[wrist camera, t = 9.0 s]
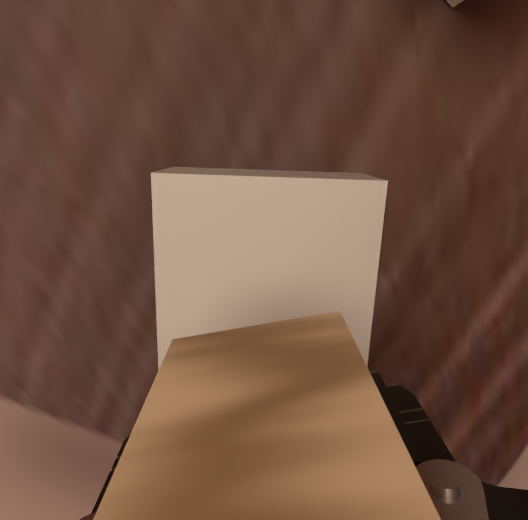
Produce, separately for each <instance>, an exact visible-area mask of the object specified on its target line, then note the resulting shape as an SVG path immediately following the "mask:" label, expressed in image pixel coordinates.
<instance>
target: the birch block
mask: <svg viewBox="0 0 528 520" xmlns="http://www.w3.org/2000/svg"><path fill="white" fill-rule="evenodd" d="M93 520H441V519H440V517H439V514H438V512H437V510H436V508H435V506H434V504H433V502H432V500H431V498H430V496H429V494H428V492H427V490H426V488H425V486H424V483H423V481H422V479H421V477H420V475H419V473H418V471H417V469H416V467H415V465H414V463H413V461H412V459H411V457H410V454H409V452H408V450H407V448H406V446H405V444H404V442H403V440H402V438H401V436H400V434H399V432H398V430H397V428H396V426H395V423H394V421H393V419H392V417H391V415H390V413H389V411H388V409H387V407H386V405H385V403H384V401H383V399H382V397H381V395H380V392H379V390H378V388H377V386H376V384H375V382H374V380H373V378H372V376H371V374H370V372H369V370H368V368H367V366H366V364H365V361H364V359H363V357H362V355H361V353H360V351H359V349H358V347H357V345H356V343H355V341H354V339H353V337H352V335H351V333H350V330H349V328H348V326H347V324H346V322H345V320H344V318H343V316H342V314H341V312H340V311H337V312H331V313H325V314H319V315H313V316H307V317H301V318H295V319H289V320H284V321H278V322H272V323H266V324H260V325H254V326H248V327H242V328H236V329H230V330H224V331H218V332H213V333H207V334H201V335H195V336H189V337H183V338H177V339H172V341H171V344H170V346H169V348H168V350H167V353H166V355H165V357H164V360H163V362H162V364H161V366H160V369H159V371H158V373H157V376H156V378H155V380H154V382H153V385H152V387H151V389H150V391H149V394H148V396H147V398H146V401H145V403H144V405H143V407H142V410H141V412H140V414H139V416H138V419H137V421H136V423H135V426H134V428H133V430H132V432H131V435H130V437H129V439H128V442H127V444H126V446H125V448H124V451H123V453H122V455H121V457H120V460H119V462H118V464H117V467H116V469H115V471H114V473H113V476H112V478H111V480H110V482H109V485H108V487H107V489H106V492H105V494H104V496H103V498H102V501H101V503H100V505H99V508H98V510H97V512H96V514H95V517H94V519H93Z"/></svg>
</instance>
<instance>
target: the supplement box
mask: <svg viewBox="0 0 528 520" xmlns="http://www.w3.org/2000/svg"><path fill="white" fill-rule="evenodd" d="M446 1H447V2H448V3H449V4H450V6H451V7H455V6H456V5H458V4H459V3H461V2H462V1H464V0H446Z"/></svg>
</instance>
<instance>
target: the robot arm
mask: <svg viewBox="0 0 528 520" xmlns="http://www.w3.org/2000/svg"><path fill="white" fill-rule="evenodd" d="M370 374H371V376H372V378H373V380H374V382H375V384H376V386H377V388H378V390H379V392H380V395H381V397H382V399H383V401H384V403H385V405H386V407H387V409H388V411H389V413H390V415H391V417H392V419H393V421H394V423H395V426H396V428H397V430H398V432H399V434H400V436H401V438H402V440H403V442H404V444H405V446H406V448H407V450H408V452H409V454H410V457H411V459H412V461H413V463H414V465H415V467H416V469H417V471H418V473H419V475H420V477H421V479H422V481H423V483H424V486H425V488H426V490H427V492H428V494H429V496H430V498H431V500H432V502H433V504H434V506H435V508H436V510H437V512H438V514H439V517H440V519H441V520H528V490H522V489H514V488H504V487H498V486H493V485H490V484H486V483H484V482H481V481H480V479H479V478H478V477H477V476H476V474H475V473H473V472H472V471H471V470H470V469H468V468H467V467H465V466H463V465H462V464H459V463H457V462H456V461H455V460H454V458H453V457H452V455H451V453H450V452H449V450H448V448H447V447H446V445H445V444H444V442H443V440H442V439H441V437H440V436H439V434H438V432H437V431H436V429H435V427H434V426H433V424H432V423H431V421H429V418H428V416H427V415H426V413H425V411H424V410H423V409H422V406H421V405H420V403H419V402H418V400H417V398H416V397H415V395H414V394H412V393H411V392H409V391H408V390H406V389H405V388H403V387H402V386H401V385H399V386H392V387H386V386H385V384H384V382H383V380H382V378H381V376H380V374H379V372H378V371H370ZM130 435H131V434H130ZM130 435H129V436H128V437H127V438H126V440H125V441H124V442H123V445H122V447H121V449H120V451H119V453H118V458H117V459H116V460H115V462H114V465H113V467H112V471H110V473H109V475H108V478H107V480H106V482H105V484H104V486H103V489H102V491H101V493H100V495H99V497H98V500H97V502H96V504H95V506H94V508H93V511H92V513H91V514H89V515H88V516H85V517H83V518H82V519H80V520H93V519H94V517H95V514H96V512H97V510H98V508H99V505H100V503H101V501H102V498H103V496H104V494H105V492H106V489H107V487H108V485H109V482H110V480H111V478H112V476H113V473H114V471H115V469H116V467H117V464H118V462H119V460H120V457H121V455H122V453H123V451H124V448H125V446H126V444H127V442H128V439H129V437H130Z"/></svg>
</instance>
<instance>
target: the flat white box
mask: <svg viewBox="0 0 528 520" xmlns="http://www.w3.org/2000/svg"><path fill="white" fill-rule="evenodd" d="M387 185H388V181H387V180H383V179H380V178H376V177H373V176H369V175H366V174H362V173H341V172H311V171H282V170H252V169H222V168H193V167H171V168H167V169H164V170H160V171H156V172H152V173H151V186H152V212H153V238H154V264H155V290H156V316H157V343H158V369H160V366H161V364H162V362H163V360H164V357H165V355H166V353H167V350H168V348H169V346H170V344H171V341H172V339H177V338H183V337H189V336H195V335H201V334H207V333H213V332H218V331H224V330H230V329H236V328H242V327H248V326H254V325H260V324H266V323H272V322H278V321H284V320H289V319H295V318H301V317H307V316H313V315H319V314H325V313H331V312H337V311H340V312H341V314H342V316H343V318H344V320H345V322H346V324H347V326H348V328H349V330H350V333H351V335H352V337H353V339H354V341H355V343H356V345H357V347H358V349H359V351H360V353H361V355H362V357H363V359H364V361H365V364H366V366H367V363H368V355H369V346H370V337H371V328H372V319H373V310H374V301H375V292H376V283H377V274H378V265H379V256H380V247H381V238H382V229H383V220H384V211H385V202H386V193H387Z"/></svg>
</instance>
